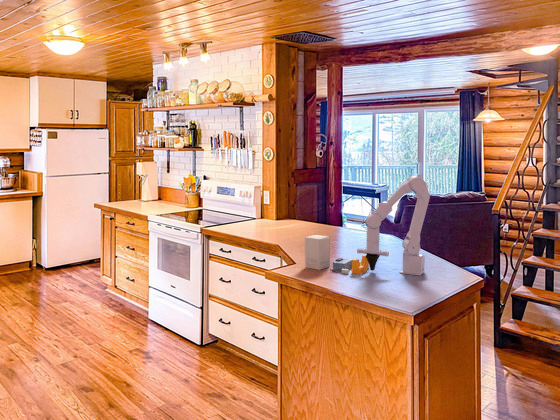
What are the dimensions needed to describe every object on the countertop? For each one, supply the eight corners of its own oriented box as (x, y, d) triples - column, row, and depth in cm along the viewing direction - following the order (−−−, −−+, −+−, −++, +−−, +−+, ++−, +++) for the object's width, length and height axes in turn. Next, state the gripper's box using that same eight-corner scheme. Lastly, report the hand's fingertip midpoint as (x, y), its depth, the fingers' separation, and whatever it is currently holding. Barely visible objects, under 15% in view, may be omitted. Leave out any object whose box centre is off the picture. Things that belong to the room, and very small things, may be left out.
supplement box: (330, 266, 235) (330, 236, 233) (319, 270, 229) (319, 239, 227) (315, 263, 241) (315, 234, 240) (304, 267, 235) (304, 236, 233)
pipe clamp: (360, 274, 221) (360, 260, 220) (351, 273, 224) (352, 259, 223) (372, 269, 231) (372, 255, 230) (363, 268, 233) (364, 254, 232)
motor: (361, 266, 236) (361, 257, 235) (347, 274, 221) (347, 264, 221) (342, 263, 241) (342, 255, 240) (327, 271, 226) (327, 262, 226)
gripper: (391, 240, 222) (390, 269, 224) (361, 238, 229) (360, 266, 231) (386, 243, 216) (385, 273, 218) (355, 240, 223) (355, 269, 225)
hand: (372, 269), depth 224 cm, fingers closed
